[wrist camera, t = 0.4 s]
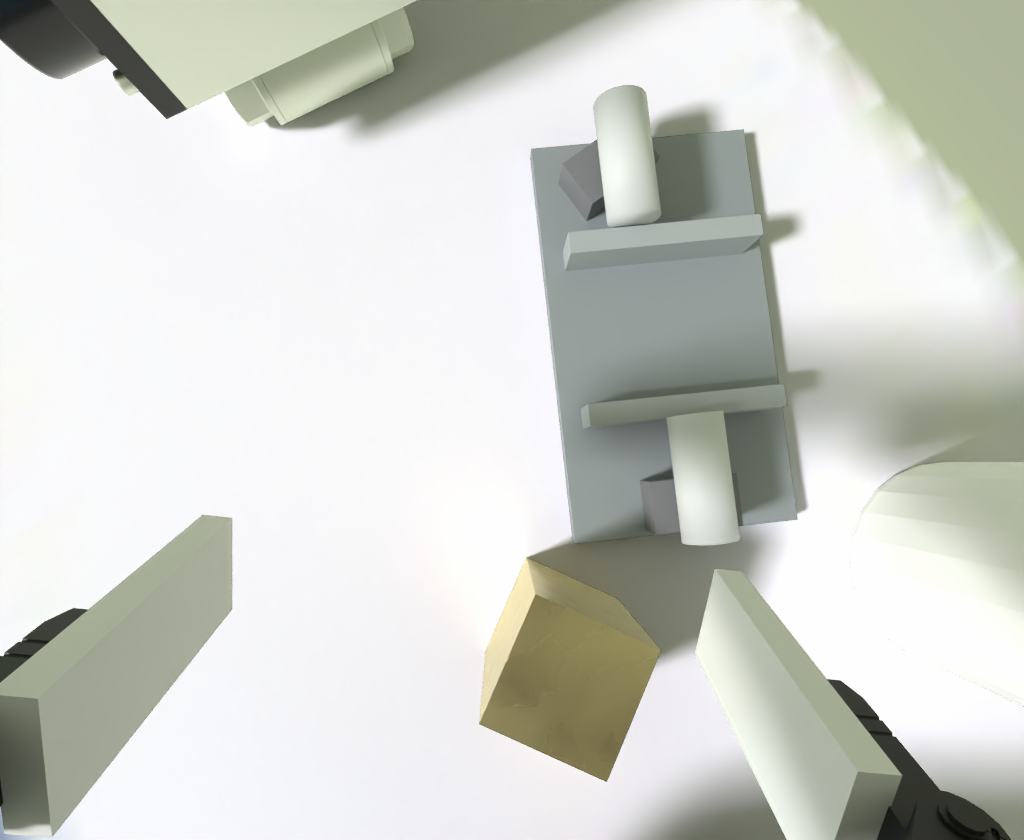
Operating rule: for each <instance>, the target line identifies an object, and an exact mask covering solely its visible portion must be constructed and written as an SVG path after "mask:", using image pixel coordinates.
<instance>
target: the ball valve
mask: <svg viewBox="0 0 1024 840" xmlns="http://www.w3.org/2000/svg"><path fill="white" fill-rule="evenodd" d="M415 1H417V0H0V40H1V41H2V42H3V43H4V44H5V45H7V46H8V47H9V48H10V49H11V50H12V51H13V52H14V53H16V54H17V55H18V56H19V57H20V58H22V59H23V60H24V61H25V62H27V63H28V64H30V65H31V66H32V67H34V68H35V69H37V70H38V71H40V72H42V73H43V74H45V75H47V76H50V77H52V78H56V79H63V78H66V77H68V76H70V75H72V74H74V73H76V72H78V71H81V70H83V69H85V68H87V67H89V66H91V65H93V64H96V63H98V62H100V61H102V60H104V59H106V58H108V59H109V60H110V62H111V63H112V64H113V65H114V66H115V67H116V68H117V70H115V71H113V76H114V78H115V80H116V82H117V83H118V85H119V86H120V87H121V89H122V90H123V91H124V92H125V93H126V94H127V95H133V94H135V93H137V92H139V91H140V92H141V93H142V94H143V95H144V96H145V97H146V98H147V99H148V100H149V101H150V102H151V103H152V104H153V105H154V106H155V107H156V108H157V110H158V111H159V112H160V113H161V114H162V115H163V116H164V117H165V118H166V119H168V118H170V117H172V116H174V115H176V114H179V113H181V112H183V111H185V110H187V109H189V108H191V107H193V106H195V105H198V104H200V103H202V102H204V101H206V100H208V99H210V98H212V97H214V96H217V95H219V94H221V93H223V92H225V94H226V96H227V97H228V99H229V100H230V102H231V104H232V105H233V107H234V108H235V110H236V111H237V113H238V114H239V115H240V117H241V118H242V120H243V121H244V122H245V123H246V124H247V125H248V126H254V125H256V124H258V123H260V122H263V121H265V120H267V119H269V118H271V117H273V116H275V118H276V119H277V121H278V122H279V123H280V124H281V125H283V124H286V123H288V122H290V121H292V120H294V119H296V118H298V117H300V116H302V115H304V114H306V113H308V112H310V111H312V110H315V109H317V108H319V107H321V106H323V105H325V104H327V103H329V102H331V101H333V100H335V99H337V98H339V97H342V96H344V95H346V94H348V93H350V92H352V91H354V90H356V89H358V88H360V87H362V86H365V85H367V84H369V83H371V82H373V81H375V80H377V79H379V78H381V77H383V76H385V75H388V74H390V73H392V72H394V66H393V62H392V59H394V58H396V57H398V56H400V55H403V54H405V53H407V52H409V51H410V50H411V49H412V48H413V47H414V39H413V34H412V30H411V27H410V24H409V21H408V18H407V15H406V12H405V10H404V6H406V5H408V4H410V3H413V2H415Z"/></svg>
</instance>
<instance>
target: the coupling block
mask: <svg viewBox="0 0 1024 840" xmlns="http://www.w3.org/2000/svg"><path fill="white" fill-rule="evenodd" d="M660 652H661V650H660V649H659V647H658V646H657V645H656V644H655V643H654V641H653V640H652V639H651V638H650V637H649V635H648V634H647V633H646V632H645V631H644V630H643V628H642V627H641V626H640V625H639V624H638V622H637V621H636V620H635V619H634V618H633V617H632V615H631V614H630V613H629V612H628V611H627V609H626V608H625V607H624V606H623V605H622V603H621V602H620V601H619V600H618V599H617V598H615V597H613V596H610V595H608V594H606V593H604V592H602V591H599V590H597V589H595V588H593V587H590V586H588V585H586V584H584V583H582V582H579V581H577V580H575V579H573V578H570V577H568V576H566V575H564V574H561V573H559V572H557V571H555V570H553V569H550V568H548V567H546V566H544V565H541V564H539V563H537V562H535V561H533V560H530V559H528V558H526V559H525V562H524V564H523V566H522V569H521V571H520V573H519V575H518V578H517V580H516V582H515V585H514V587H513V589H512V591H511V594H510V596H509V598H508V601H507V603H506V605H505V607H504V610H503V612H502V614H501V617H500V619H499V621H498V623H497V626H496V628H495V630H494V633H493V635H492V637H491V640H490V642H489V644H488V646H487V649H486V651H485V662H484V673H483V685H482V696H481V708H480V720H479V724H480V725H482V726H485V727H487V728H489V729H491V730H493V731H496V732H498V733H500V734H502V735H504V736H507V737H509V738H511V739H513V740H515V741H518V742H520V743H522V744H524V745H526V746H529V747H531V748H533V749H535V750H537V751H540V752H542V753H544V754H546V755H549V756H551V757H553V758H555V759H557V760H560V761H562V762H564V763H566V764H568V765H571V766H573V767H575V768H577V769H579V770H582V771H584V772H586V773H588V774H590V775H593V776H595V777H597V778H599V779H601V780H604V781H606V782H607V780H608V778H609V775H610V773H611V771H612V768H613V766H614V763H615V761H616V759H617V756H618V754H619V751H620V749H621V746H622V744H623V742H624V739H625V737H626V734H627V732H628V729H629V727H630V725H631V722H632V720H633V717H634V715H635V713H636V710H637V708H638V705H639V703H640V700H641V698H642V696H643V693H644V691H645V688H646V686H647V684H648V681H649V679H650V676H651V674H652V671H653V669H654V667H655V664H656V662H657V659H658V657H659V654H660Z"/></svg>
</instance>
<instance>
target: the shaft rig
mask: <svg viewBox="0 0 1024 840" xmlns="http://www.w3.org/2000/svg"><path fill="white" fill-rule="evenodd" d="M593 110H594V118H595V126H596V135H597V140H596V141H594V142H593V143H591V144H580V145H569V146H558V147H547V148H536V149H531V158H530V160H531V169H532V178H533V187H534V196H535V205H536V214H537V223H538V232H539V241H540V250H541V259H542V268H543V277H544V286H545V295H546V304H547V313H548V322H549V331H550V340H551V349H552V358H553V367H554V376H555V385H556V394H557V403H558V412H559V421H560V430H561V440H562V449H563V458H564V467H565V476H566V485H567V494H568V503H569V512H570V521H571V530H572V539H573V542H574V543H575V544H577V543H586V542H596V541H605V540H614V539H623V538H632V537H641V536H651V535H661V534H670V533H679V532H681V540H682V543H683V544H687V545H720V544H727V543H733V542H736V541H739V540H740V535H739V528H738V526H743V525H752V524H761V523H770V522H779V521H788V520H798V519H797V512H796V504H795V497H794V490H793V483H792V475H791V468H790V461H789V454H788V446H787V439H786V432H785V425H784V418H783V410H782V407H783V406H787V401H786V394H785V386H784V384H779V381H778V374H777V367H776V360H775V352H774V345H773V338H772V331H771V323H770V316H769V309H768V302H767V295H766V287H765V280H764V273H763V266H762V258H761V251H760V244H759V238H760V237H761V236H762V235H763V228H762V221H761V214H755V208H754V200H753V193H752V186H751V179H750V172H749V164H748V157H747V150H746V143H745V135H744V129H743V130H732V131H721V132H710V133H699V134H688V135H678V136H667V137H656V138H652V136H651V128H650V120H649V112H648V105H647V97H646V92H645V91H644V90H643V89H642V88H640V87H638V86H634V85H623V86H618V87H615V88H612V89H609V90H607V91H606V92H604V93H602V94H601V95H600V96H599V97H598V98H597V99H596V100H595V102H594V105H593Z"/></svg>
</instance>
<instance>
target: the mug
mask: <svg viewBox="0 0 1024 840" xmlns="http://www.w3.org/2000/svg"><path fill="white" fill-rule="evenodd" d="M850 567H851V573H852V578H853V584H854V589H855V591H856V593H857V596H858V598H859V600H860V602H861V605H862V607H863V609H864V611H865V613H866V614H867V616H868V617H869V618H870V620H871V621H872V622H873V623H874V625H875V626H876V627H877V628H878V630H879V631H880V632H881V633H882V634H883V635H884V636H885V637H887V638H888V639H889V640H891V641H892V642H893V643H895V644H896V645H897V646H898V647H900V648H901V649H902V650H904V651H906V652H908V653H910V654H912V655H914V656H917V657H919V658H921V659H923V660H925V661H927V662H929V663H931V664H934V665H936V666H938V667H940V668H942V669H944V670H946V671H948V672H951V673H953V674H955V675H957V676H959V677H961V678H963V679H965V680H968V681H970V682H972V683H974V684H976V685H978V686H980V687H982V688H985V689H987V690H989V691H991V692H993V693H995V694H997V695H999V696H1002V697H1004V698H1006V699H1008V700H1010V701H1012V702H1014V703H1016V704H1019V705H1021V706H1023V707H1024V462H939V463H932V464H924V465H917V466H915V467H913V468H911V469H908V470H906V471H904V472H901V473H899V474H897V475H894V476H893V477H892V478H891V479H890V480H888V481H887V482H886V483H885V484H883V485H882V486H881V487H880V488H878V489H877V490H876V491H875V492H874V494H873V495H872V496H871V498H870V499H869V501H868V502H867V504H866V505H865V506H864V508H863V509H862V511H861V512H860V515H859V518H858V521H857V523H856V526H855V529H854V532H853V534H852V541H851V553H850Z"/></svg>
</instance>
